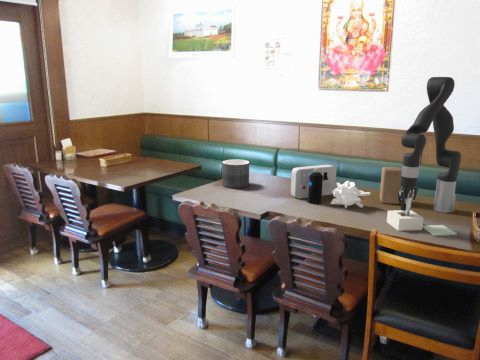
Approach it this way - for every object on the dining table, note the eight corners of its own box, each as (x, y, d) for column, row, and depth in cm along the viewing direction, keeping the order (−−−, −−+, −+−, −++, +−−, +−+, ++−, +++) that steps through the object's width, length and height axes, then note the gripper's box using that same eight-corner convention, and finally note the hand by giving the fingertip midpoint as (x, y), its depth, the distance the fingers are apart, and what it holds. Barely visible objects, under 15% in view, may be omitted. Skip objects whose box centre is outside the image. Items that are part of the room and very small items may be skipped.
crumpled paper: (341, 190, 212) (339, 168, 221) (326, 207, 225) (326, 187, 234) (375, 199, 214) (372, 177, 224) (359, 216, 228) (357, 195, 237)
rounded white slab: (296, 200, 237) (298, 170, 233) (290, 196, 244) (291, 167, 239) (337, 195, 248) (339, 166, 243) (329, 192, 255) (331, 164, 250)
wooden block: (399, 204, 230) (403, 170, 225) (381, 203, 232) (384, 169, 227) (396, 199, 239) (400, 166, 234) (378, 198, 241) (382, 166, 236)
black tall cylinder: (323, 201, 235) (325, 167, 230) (319, 205, 228) (321, 170, 223) (309, 199, 238) (311, 166, 233) (305, 203, 231) (307, 169, 226)
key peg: (411, 220, 196) (414, 192, 192) (406, 221, 193) (409, 193, 190) (403, 217, 199) (406, 190, 196) (398, 219, 197) (400, 191, 193)
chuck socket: (409, 221, 203) (410, 209, 202) (422, 229, 192) (423, 218, 190) (386, 221, 202) (387, 210, 200) (398, 230, 190) (399, 218, 189)
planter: (249, 188, 261) (249, 165, 257) (221, 188, 261) (221, 164, 257) (248, 181, 278) (249, 159, 274) (223, 181, 278) (223, 159, 274)
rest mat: (442, 226, 196) (442, 225, 196) (456, 235, 186) (456, 233, 185) (421, 227, 195) (421, 225, 195) (434, 235, 184) (434, 234, 184)
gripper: (408, 178, 184) (404, 214, 188) (425, 174, 192) (421, 208, 196) (393, 175, 189) (390, 210, 194) (411, 171, 197) (407, 205, 202)
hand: (405, 209), depth 195 cm, fingers closed on key peg, 4 cm apart
